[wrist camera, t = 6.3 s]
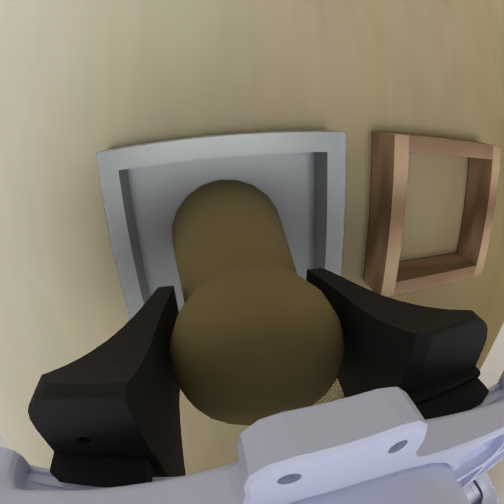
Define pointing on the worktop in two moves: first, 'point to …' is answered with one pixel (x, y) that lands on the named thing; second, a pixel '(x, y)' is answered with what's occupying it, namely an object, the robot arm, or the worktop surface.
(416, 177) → the worktop surface
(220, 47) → the worktop surface
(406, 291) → the wooden square frame
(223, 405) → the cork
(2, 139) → the worktop surface
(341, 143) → the tray
